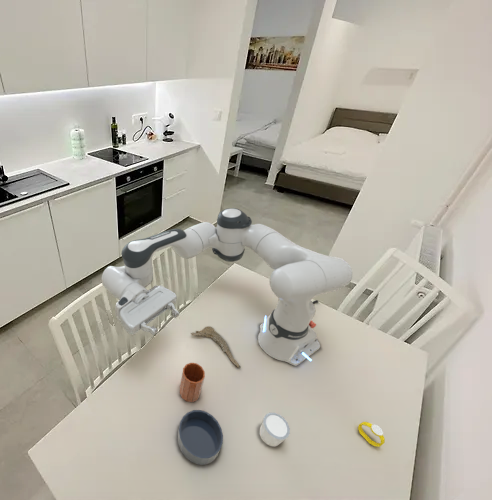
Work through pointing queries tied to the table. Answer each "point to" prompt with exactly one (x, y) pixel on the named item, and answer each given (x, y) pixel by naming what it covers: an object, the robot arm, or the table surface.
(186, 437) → the wide pot
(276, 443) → the white cylinder
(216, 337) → the jawbone
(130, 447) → the table surface
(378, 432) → the watch
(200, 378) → the orange cup
